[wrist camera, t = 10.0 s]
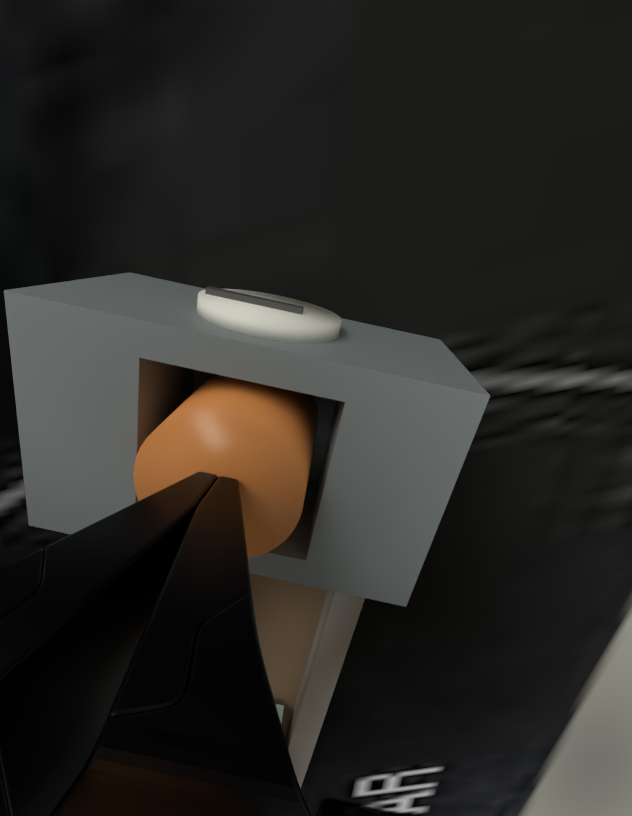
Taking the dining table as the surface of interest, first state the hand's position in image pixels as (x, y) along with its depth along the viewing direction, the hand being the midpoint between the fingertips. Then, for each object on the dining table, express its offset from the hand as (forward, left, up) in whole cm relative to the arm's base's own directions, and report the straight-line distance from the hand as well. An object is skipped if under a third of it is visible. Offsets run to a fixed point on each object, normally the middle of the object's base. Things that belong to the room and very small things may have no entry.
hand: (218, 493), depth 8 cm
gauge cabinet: (0, 0, -6) cm, 6 cm away
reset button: (0, 0, -4) cm, 4 cm away
